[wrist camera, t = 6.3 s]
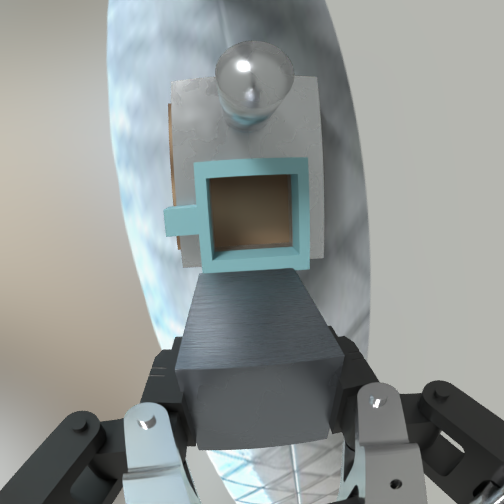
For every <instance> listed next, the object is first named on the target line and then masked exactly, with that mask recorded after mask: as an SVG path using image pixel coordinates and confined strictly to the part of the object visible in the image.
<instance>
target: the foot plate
mask: <svg viewBox="0 0 504 504" xmlns="http://www.w3.org/2000/svg"><path fill="white" fill-rule="evenodd" d="M168 116H169V145H170V164H171V180H172V193H173V205H174V206H177V205H176V193H175V180H174V164H173V145H172V116H171V103H170V104H168ZM210 183H211V198H212V212H213V225H214V238H215V247H224V246H239V245H254V244H270V243H286V242H289V208H288V179H287V174H275V175H251V176H233V177H218V178H210ZM177 245H178V250H180V249H181V245H180V236H177Z"/></svg>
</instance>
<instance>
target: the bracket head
mask: <svg viewBox="0 0 504 504" xmlns="http://www.w3.org/2000/svg"><path fill="white" fill-rule="evenodd" d="M275 174H291V191H292V229H293V247H279V248H264V249H248V250H233V251H218V252H214V243H213V231H212V218H211V204H210V190H209V178H218V177H233V176H251V175H275ZM194 179H195V193H196V205H184V206H173V207H168V208H166V209H164V220H165V229H166V237H170V236H183V235H196V234H199V241H200V251H201V261H202V271H203V273H219V272H236V271H252V270H267V269H282V268H294V270H306V269H310V203H309V169H308V157H288V158H253V159H234V160H219V161H206V162H195V163H194Z"/></svg>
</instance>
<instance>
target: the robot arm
mask: <svg viewBox="0 0 504 504" xmlns="http://www.w3.org/2000/svg"><path fill="white" fill-rule="evenodd" d="M328 327H329V329H330V331H331V332H332V334H333V336H334V338H335V339H336V341H337V343H338V345H339V346H340V348H341V350H342V352H343V353H344V355H345V356H344V362H343V367H342V373H341V378H338V382H337V387H336V392H335V397H334V402H333V407H332V412H331V416H330V420H329V426H330V428H331V431H332V434H335V433H339V432H342V433H343V435H344V441H343V445H342V466H341V482H340V490H339V494H338V497H337V502H333V503H329V504H427V495H426V486H425V479H424V474H425V475H427V476H428V477H429V478H430V479H431V480H432V481H433V482H434V483H435V484H436V485H437V486H439V487H440V488H441V489H442V490H443V491H444V492H445V493H446V494H447V495H448V496H449V497H451V498H452V499H453V500H454V501H455V502H456V503H457V504H504V421H503V420H502V419H501V418H499V417H498V416H496V415H495V414H494V413H492V412H491V411H489V410H488V409H486V408H485V407H484V406H482V405H480V404H479V403H478V402H477V401H475V400H474V399H472V398H471V397H470V396H468V395H467V394H465V393H464V392H462V391H461V390H460V389H458V388H456V387H455V386H454V385H452V384H451V383H448V382H446V381H440V380H438V381H432V382H430V383H428V384H427V385H426V386H425V387H424V389H423V392H422V393H417V394H399V393H398V391H397V390H396V389H395V388H394V387H392V386H391V385H388V384H386V383H380V382H379V381H378V379H377V377H376V376H375V374H374V372H373V371H372V369H371V368H370V366H369V365H368V363H367V362H366V360H365V359H364V357H363V355H362V354H361V352H359V349H358V348H357V346H356V345H355V343H354V342H353V341H351V340H350V339H348V338H347V337H345V336H342V337H338V336H337V335H336V333H335V331H334V330H333V328H332V326H328ZM182 338H183V337H175V339H174V343H173V346H172V350H162V351H161V352H160V353H159V354H158V355H157V356H156V357H155V359H154V362H153V365H152V369H151V371H150V376H149V377H148V380H147V383H146V386H145V389H144V392H143V395H142V398H141V401H140V404H137V405H135V406H133V407H132V408H130V409H129V410H128V411H127V412H126V414H125V417H124V418H122V419H118V420H111V421H103V422H100V421H99V419H98V418H97V416H96V415H94V414H93V413H91V412H88V411H77V412H74V413H72V414H70V415H68V416H67V417H66V418H65V419H64V420H63V421H62V422H61V423H60V425H59V426H58V427H57V428H56V429H55V430H54V431H53V432H52V433H51V434H50V435H49V437H48V438H47V439H46V440H45V441H44V442H43V443H42V444H41V445H40V446H39V448H38V449H37V450H36V451H35V452H34V453H33V454H32V455H31V456H30V458H29V459H28V460H27V461H26V462H25V463H24V464H23V466H22V467H21V468H20V469H19V470H18V471H17V472H16V473H15V475H14V476H13V477H12V478H11V479H10V480H9V482H8V483H7V484H6V485H5V486H4V487H3V488H2V490H1V491H0V504H112V503H113V502H114V500H115V498H116V497H117V495H118V494H119V492H120V491H121V489H122V487H123V488H124V496H125V502H126V504H202V503H201V501H200V498H199V496H198V493H197V490H196V487H195V485H194V481H193V478H192V475H191V472H190V469H189V466H188V463H187V460H186V449H187V446H196V437H197V436H196V432H195V429H194V426H193V423H192V420H191V416H190V413H189V410H188V406H187V403H186V399H185V396H184V392H181V391H180V387H179V384H178V380H177V376H176V372H175V366H176V362H177V358H178V354H179V350H180V346H181V342H182ZM441 431H443V432H445V433H446V434H447V435H448V436H450V437H451V438H452V439H453V440H454V441H456V442H457V443H458V444H460V445H461V446H462V448H463V449H464V451H465V453H463V452H461V451H460V450H459V449H457V448H456V447H455V446H454V445H452V444H451V443H450V442H449V441H448V440H447V439H445V438H444V437H443V436H442V435H441V434H440V433H441Z"/></svg>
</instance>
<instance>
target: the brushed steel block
mask: <svg viewBox="0 0 504 504" xmlns="http://www.w3.org/2000/svg"><path fill="white" fill-rule="evenodd" d="M344 356H345V355H344V353H343V352H342V350H341V348H340V346H339V345H338V343H337V341H336V339H335V338H334V336H333V334H332V332H331V331H330V329H329V327H328V326H327V324H326V322H325V320H324V319H323V317H322V315H321V314H320V312H319V310H318V308H317V307H316V305H315V303H314V302H313V300H312V298H311V297H310V295H309V293H308V291H307V290H306V288H305V286H304V285H303V283H302V281H301V280H300V278H299V276H298V275H297V273H296V271H295V270H294V268H282V269H267V270H252V271H236V272H219V273H201V274H199V277H198V281H197V285H196V288H195V292H194V296H193V299H192V303H191V307H190V310H189V314H188V318H187V322H186V326H185V330H184V334H183V338H182V342H181V346H180V350H179V354H178V358H177V362H176V366H175V372H176V376H177V380H178V384H179V387H180V391H181V392H184V396H185V399H186V403H187V406H188V410H189V413H190V416H191V420H192V423H193V426H194V429H195V432H196V436H197V437H196V443H197V446H198V449H199V450H236V449H253V448H265V447H275V446H283V445H291V444H298V443H304V442H311V441H316V440H322V439H327V436H328V432H329V428H330V426H329V420H330V416H331V412H332V407H333V402H334V397H335V392H336V387H337V382H338V378H341V373H342V367H343V362H344Z"/></svg>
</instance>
